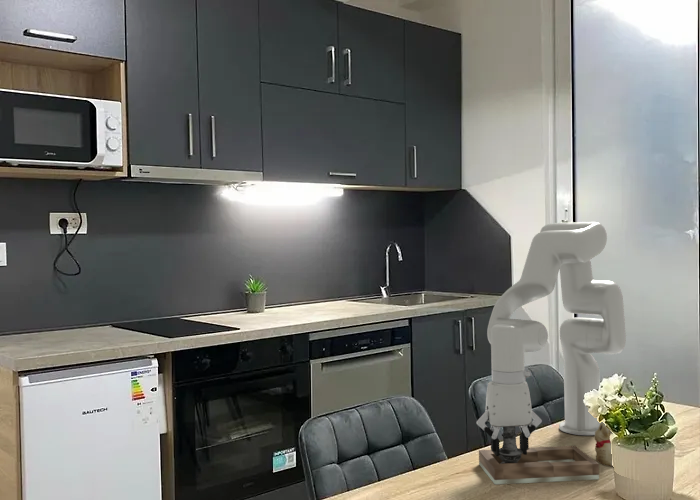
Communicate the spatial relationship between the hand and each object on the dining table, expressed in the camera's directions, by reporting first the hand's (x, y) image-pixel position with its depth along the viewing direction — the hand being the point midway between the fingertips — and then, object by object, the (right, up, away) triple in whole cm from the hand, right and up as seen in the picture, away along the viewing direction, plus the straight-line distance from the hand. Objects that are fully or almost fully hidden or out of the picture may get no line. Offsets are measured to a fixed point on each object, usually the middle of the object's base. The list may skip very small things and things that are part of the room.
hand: (509, 452), depth 168 cm
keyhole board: (+6, -4, 0) cm, 8 cm away
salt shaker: (0, -3, 0) cm, 3 cm away
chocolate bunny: (+25, -4, +7) cm, 26 cm away
